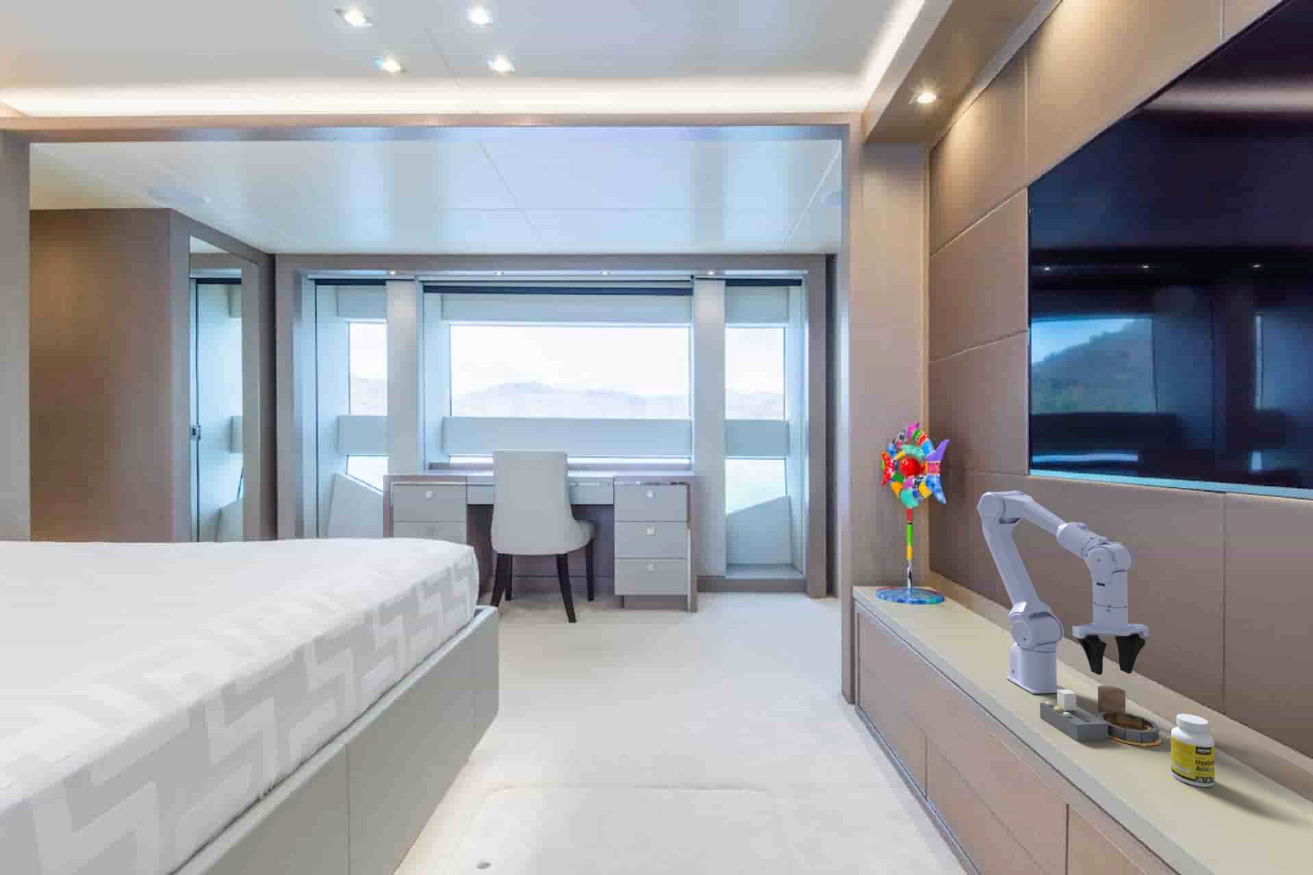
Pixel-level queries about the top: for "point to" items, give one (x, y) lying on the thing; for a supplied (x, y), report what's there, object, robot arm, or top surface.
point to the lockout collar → (1131, 728)
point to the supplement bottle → (1193, 751)
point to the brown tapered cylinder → (1111, 699)
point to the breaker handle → (1066, 699)
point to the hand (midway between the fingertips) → (1111, 672)
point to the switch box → (1074, 722)
